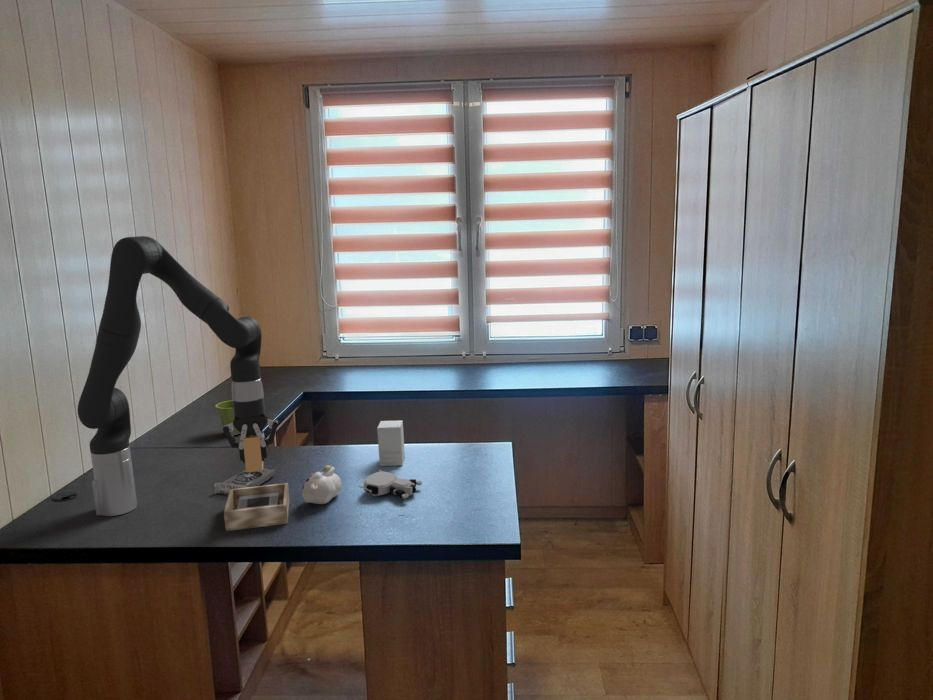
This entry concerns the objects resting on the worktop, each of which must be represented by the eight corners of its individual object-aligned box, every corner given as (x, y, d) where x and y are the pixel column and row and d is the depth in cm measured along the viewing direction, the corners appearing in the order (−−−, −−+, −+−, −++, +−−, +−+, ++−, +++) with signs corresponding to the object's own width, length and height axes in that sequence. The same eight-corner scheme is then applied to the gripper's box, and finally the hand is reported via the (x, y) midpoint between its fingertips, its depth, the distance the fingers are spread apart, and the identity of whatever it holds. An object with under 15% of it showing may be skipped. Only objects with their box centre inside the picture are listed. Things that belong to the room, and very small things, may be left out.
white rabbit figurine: (332, 457, 189) (305, 470, 175) (354, 473, 188) (330, 488, 173) (316, 484, 191) (289, 499, 177) (339, 500, 190) (313, 517, 175)
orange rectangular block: (246, 472, 170) (242, 438, 168) (247, 467, 174) (244, 434, 172) (262, 470, 171) (259, 437, 169) (263, 465, 175) (260, 432, 173)
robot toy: (424, 491, 190) (376, 481, 195) (424, 476, 189) (377, 467, 194) (406, 508, 179) (356, 498, 183) (406, 492, 178) (356, 482, 182)
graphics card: (248, 489, 184) (213, 483, 189) (249, 501, 185) (214, 495, 189) (284, 468, 200) (251, 463, 204) (285, 479, 201) (252, 474, 205)
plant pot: (259, 431, 245) (256, 401, 243) (232, 440, 235) (229, 410, 233) (237, 426, 251) (235, 397, 249) (211, 435, 241) (208, 405, 239)
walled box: (225, 531, 166) (223, 512, 165) (232, 506, 180) (230, 489, 179) (287, 523, 169) (286, 505, 168) (289, 500, 184) (288, 482, 183)
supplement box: (405, 457, 214) (403, 419, 212) (402, 466, 207) (400, 427, 204) (382, 458, 214) (380, 420, 212) (378, 466, 207) (376, 427, 205)
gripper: (216, 402, 164) (223, 469, 167) (276, 397, 167) (282, 462, 170) (220, 395, 171) (227, 459, 174) (277, 390, 174) (283, 453, 177)
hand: (254, 460), depth 172 cm, fingers closed on orange rectangular block, 4 cm apart
